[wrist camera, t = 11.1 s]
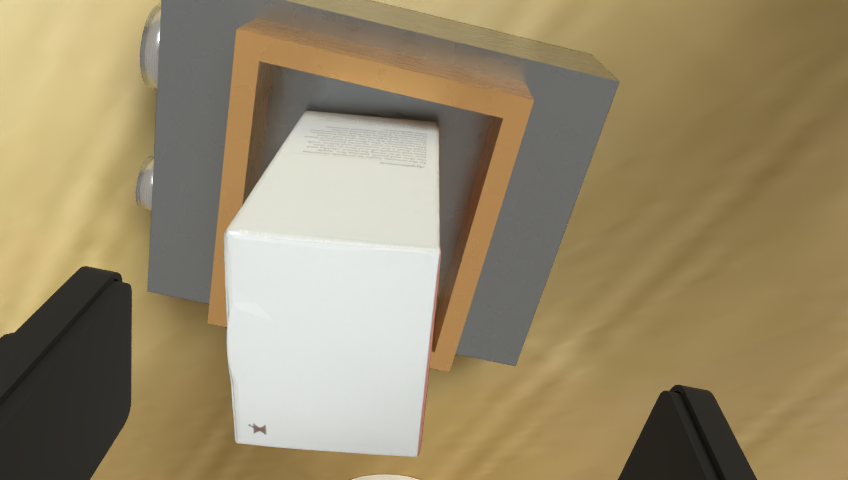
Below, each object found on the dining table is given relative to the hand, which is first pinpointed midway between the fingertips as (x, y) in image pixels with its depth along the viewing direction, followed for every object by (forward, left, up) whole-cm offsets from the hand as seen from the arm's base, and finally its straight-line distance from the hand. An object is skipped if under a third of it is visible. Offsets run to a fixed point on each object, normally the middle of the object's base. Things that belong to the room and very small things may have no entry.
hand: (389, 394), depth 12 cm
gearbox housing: (+2, +5, -26) cm, 27 cm away
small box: (+1, +5, -20) cm, 21 cm away
